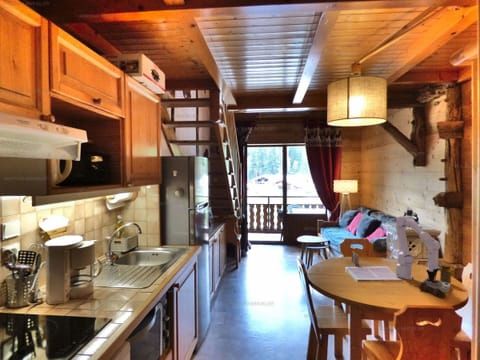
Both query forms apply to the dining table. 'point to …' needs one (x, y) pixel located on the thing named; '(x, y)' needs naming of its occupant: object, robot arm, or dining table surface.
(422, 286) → the bolt
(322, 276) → the dining table surface
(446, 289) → the button control panel
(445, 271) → the yellow metal cylinder
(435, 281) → the orange short cylinder
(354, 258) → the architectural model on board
